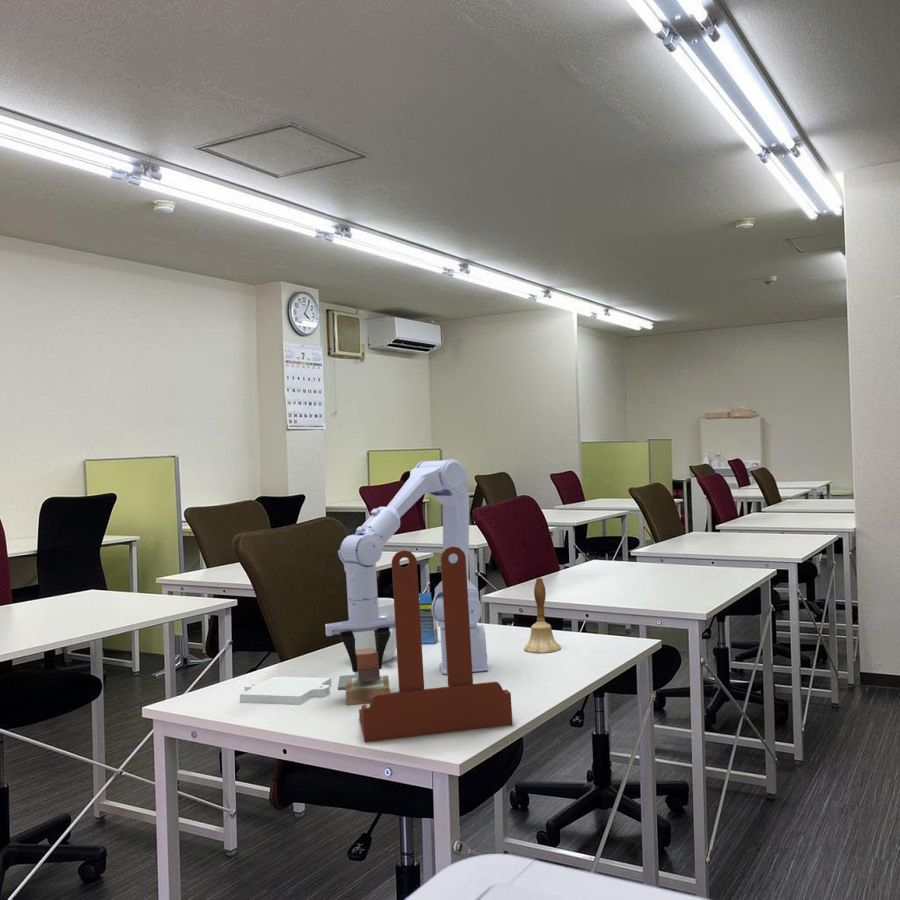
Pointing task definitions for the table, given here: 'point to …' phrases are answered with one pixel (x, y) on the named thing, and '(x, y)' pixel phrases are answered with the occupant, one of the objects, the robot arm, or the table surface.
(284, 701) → the mounting plate
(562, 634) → the table surface
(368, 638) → the mug
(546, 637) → the hand bell
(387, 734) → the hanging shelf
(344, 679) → the mat
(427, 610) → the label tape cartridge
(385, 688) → the stand
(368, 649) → the block
